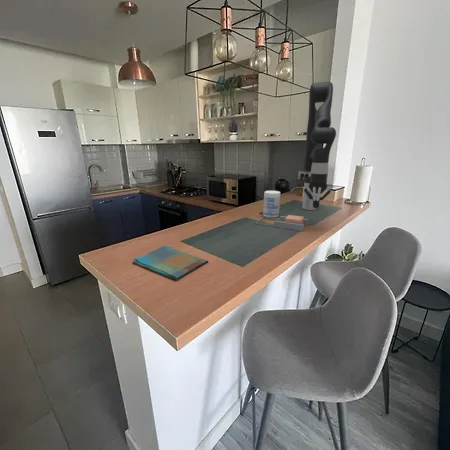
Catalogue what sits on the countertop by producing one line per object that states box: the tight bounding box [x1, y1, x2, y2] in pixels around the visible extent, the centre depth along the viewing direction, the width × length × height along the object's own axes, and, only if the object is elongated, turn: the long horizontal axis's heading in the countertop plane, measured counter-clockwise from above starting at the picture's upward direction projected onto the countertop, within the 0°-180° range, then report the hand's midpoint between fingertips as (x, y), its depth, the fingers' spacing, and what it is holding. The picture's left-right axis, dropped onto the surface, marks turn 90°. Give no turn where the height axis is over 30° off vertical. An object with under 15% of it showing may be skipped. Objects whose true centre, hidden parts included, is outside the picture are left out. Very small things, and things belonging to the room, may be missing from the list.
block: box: [285, 214, 305, 224], centre depth 131 cm, size 7×8×5 cm
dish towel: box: [132, 245, 209, 282], centre depth 93 cm, size 17×23×2 cm
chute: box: [273, 215, 309, 232], centre depth 132 cm, size 11×15×3 cm
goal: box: [255, 217, 280, 227], centre depth 138 cm, size 12×10×1 cm
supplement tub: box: [262, 190, 281, 219], centre depth 148 cm, size 10×10×15 cm
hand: (315, 207), depth 123 cm, fingers closed
